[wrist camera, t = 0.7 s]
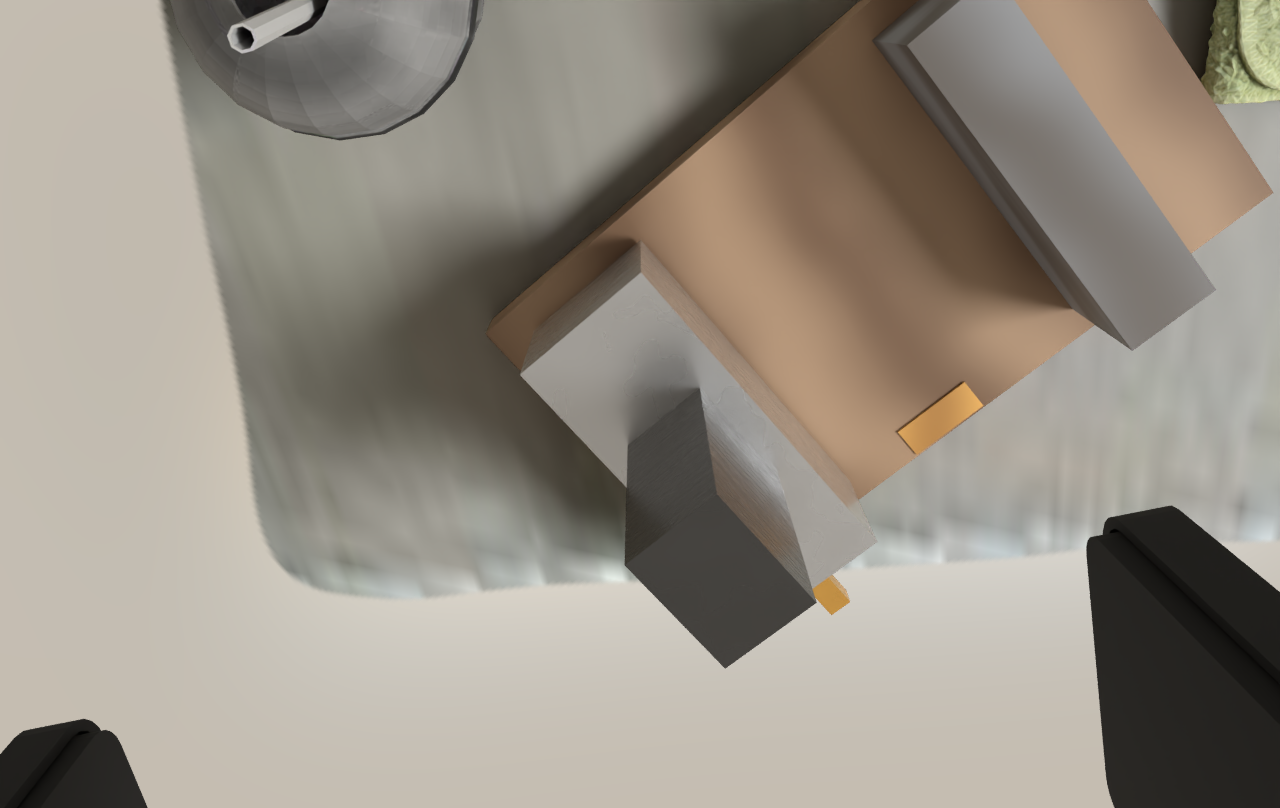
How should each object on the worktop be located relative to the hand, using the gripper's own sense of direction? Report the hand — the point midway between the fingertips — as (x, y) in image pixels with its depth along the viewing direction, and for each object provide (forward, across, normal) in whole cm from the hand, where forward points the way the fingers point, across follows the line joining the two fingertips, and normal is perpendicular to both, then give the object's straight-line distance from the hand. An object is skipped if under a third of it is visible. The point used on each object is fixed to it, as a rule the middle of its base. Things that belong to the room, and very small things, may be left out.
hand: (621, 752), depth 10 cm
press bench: (+31, -9, +3) cm, 32 cm away
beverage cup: (+31, +5, -9) cm, 33 cm away
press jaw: (+29, -2, +7) cm, 30 cm away
